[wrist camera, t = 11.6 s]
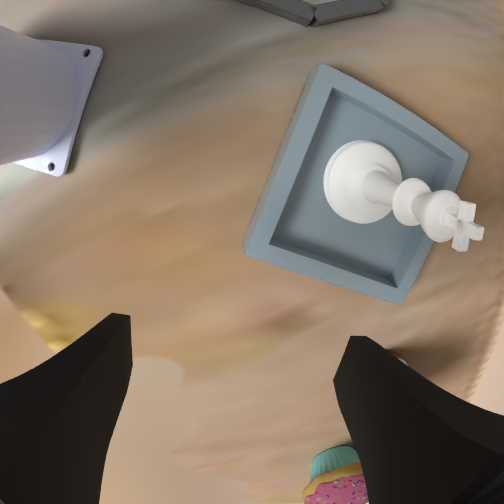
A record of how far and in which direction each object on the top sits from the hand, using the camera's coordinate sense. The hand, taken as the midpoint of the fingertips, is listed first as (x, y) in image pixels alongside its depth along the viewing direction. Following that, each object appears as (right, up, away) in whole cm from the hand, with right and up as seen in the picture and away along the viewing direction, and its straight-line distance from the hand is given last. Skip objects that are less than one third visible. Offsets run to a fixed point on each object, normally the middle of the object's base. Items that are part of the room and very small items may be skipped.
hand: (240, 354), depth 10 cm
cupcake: (+9, -19, +19) cm, 28 cm away
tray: (+7, +7, +9) cm, 13 cm away
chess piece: (+7, +7, +8) cm, 13 cm away
